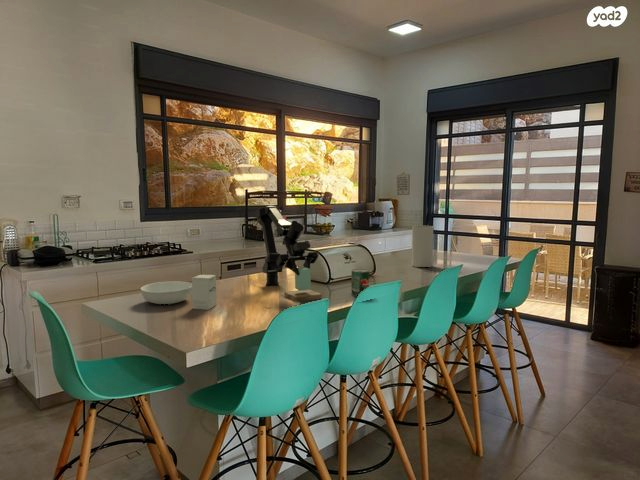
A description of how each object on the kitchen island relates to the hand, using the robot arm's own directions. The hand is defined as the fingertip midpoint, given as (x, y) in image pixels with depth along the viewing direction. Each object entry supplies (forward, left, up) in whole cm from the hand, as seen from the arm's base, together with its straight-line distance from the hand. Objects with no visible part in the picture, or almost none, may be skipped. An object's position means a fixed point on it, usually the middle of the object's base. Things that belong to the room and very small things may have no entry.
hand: (304, 274), depth 194 cm
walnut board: (-1, -1, -11) cm, 11 cm away
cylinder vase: (-77, +76, -11) cm, 109 cm away
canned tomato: (-5, +25, -11) cm, 28 cm away
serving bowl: (+2, -58, -11) cm, 59 cm away
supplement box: (+12, -41, -11) cm, 44 cm away
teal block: (-1, -1, -7) cm, 7 cm away
